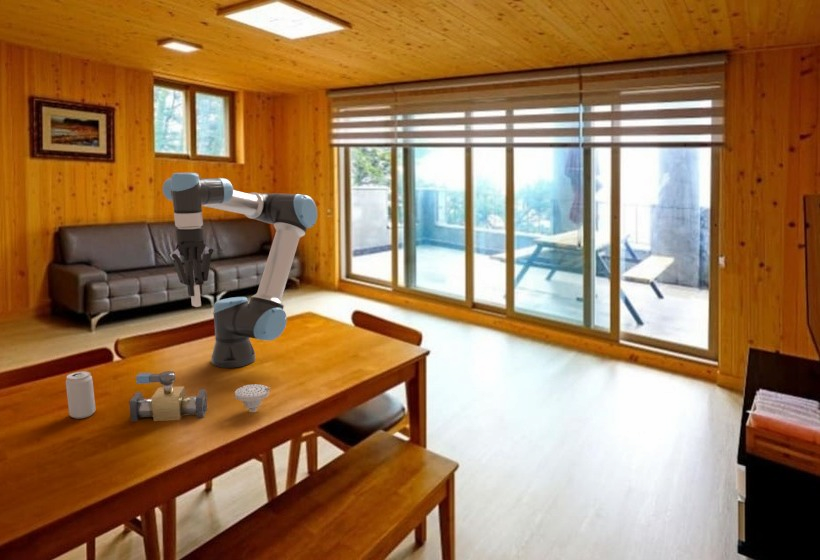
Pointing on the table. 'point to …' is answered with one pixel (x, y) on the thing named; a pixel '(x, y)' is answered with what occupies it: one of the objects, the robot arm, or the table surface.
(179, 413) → the valve
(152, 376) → the lever
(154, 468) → the table surface
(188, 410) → the pipe in
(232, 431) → the table surface
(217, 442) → the table surface
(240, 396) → the showerhead
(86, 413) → the beverage can
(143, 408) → the pipe out
